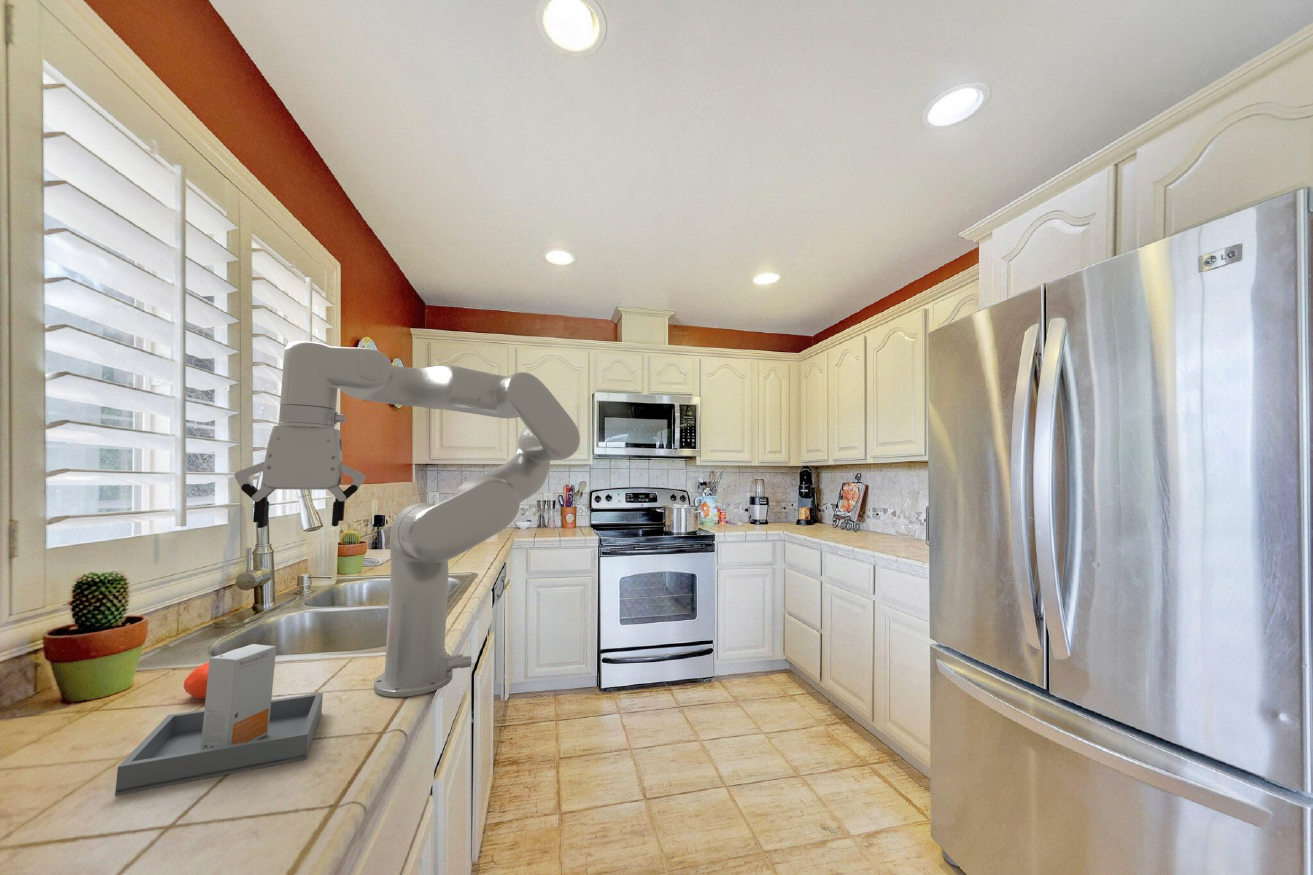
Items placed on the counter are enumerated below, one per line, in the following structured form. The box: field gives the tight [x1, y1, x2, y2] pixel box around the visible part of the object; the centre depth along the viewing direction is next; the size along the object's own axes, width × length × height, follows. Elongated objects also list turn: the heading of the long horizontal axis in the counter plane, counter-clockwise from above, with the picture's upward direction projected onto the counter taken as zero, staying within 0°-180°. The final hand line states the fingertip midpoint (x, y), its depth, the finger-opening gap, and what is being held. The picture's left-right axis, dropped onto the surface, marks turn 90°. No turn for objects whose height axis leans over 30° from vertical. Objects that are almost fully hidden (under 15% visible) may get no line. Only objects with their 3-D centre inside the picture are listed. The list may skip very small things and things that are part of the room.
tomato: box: [183, 662, 209, 700], centre depth 84 cm, size 7×8×6 cm
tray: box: [114, 692, 324, 797], centre depth 68 cm, size 18×14×3 cm
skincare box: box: [200, 643, 277, 750], centre depth 68 cm, size 6×4×12 cm
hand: (299, 526), depth 81 cm, fingers open, 9 cm apart
